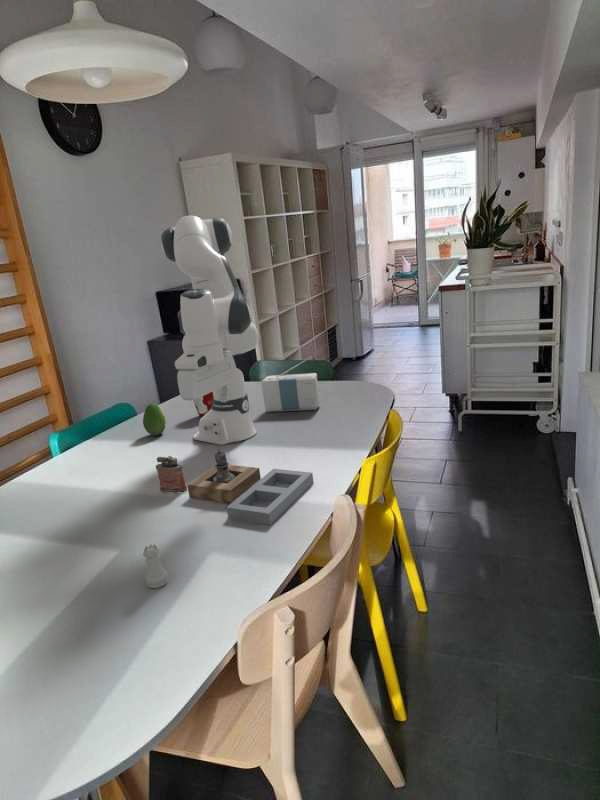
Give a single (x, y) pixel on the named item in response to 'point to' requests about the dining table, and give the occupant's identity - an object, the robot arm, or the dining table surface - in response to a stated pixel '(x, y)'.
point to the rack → (270, 496)
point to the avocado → (154, 420)
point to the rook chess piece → (154, 568)
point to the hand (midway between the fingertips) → (214, 407)
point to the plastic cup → (206, 403)
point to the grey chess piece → (222, 468)
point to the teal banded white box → (291, 392)
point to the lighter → (170, 475)
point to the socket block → (223, 484)
